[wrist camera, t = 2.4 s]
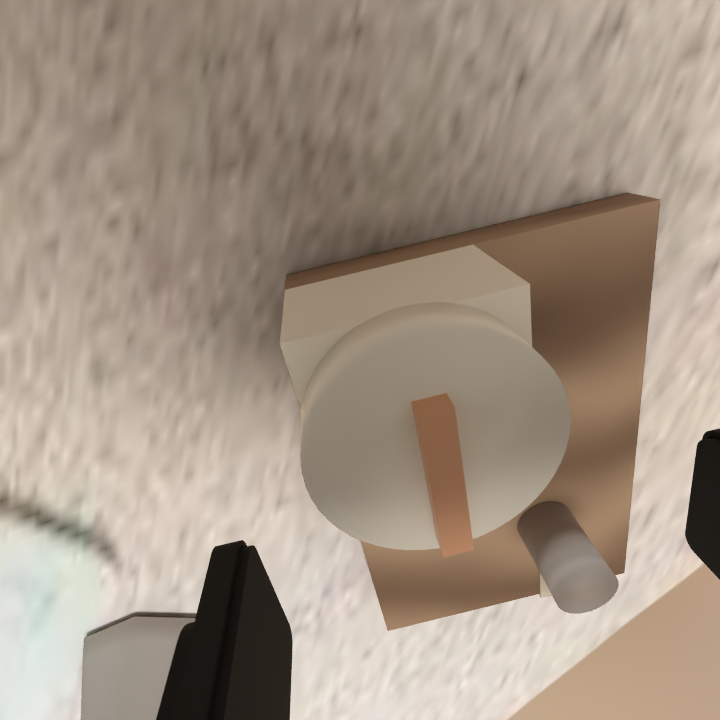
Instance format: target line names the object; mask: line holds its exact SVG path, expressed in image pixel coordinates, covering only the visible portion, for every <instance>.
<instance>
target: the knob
mask: <svg viewBox="0 0 720 720" xmlns="http://www.w3.org/2000/svg"><path fill="white" fill-rule="evenodd" d="M280 347H281V350H282V353H283V356H284V359H285V362H286V365H287V368H288V372H289V375H290V378H291V381H292V384H293V387H294V390H295V393H296V396H297V399H298V402H299V405H300V408H301V468H302V475H303V478H304V482H305V486H306V488H307V490H308V492H309V495H310V497H311V499H312V500H313V502H314V503H315V505H316V506H317V508H318V509H319V511H320V512H321V513H322V514H323V515H324V516H325V517H326V518H327V519H328V520H329V521H330V522H331V523H333V524H334V525H335V526H336V527H337V528H339V529H340V530H342V531H344V532H345V533H347V534H349V535H350V536H352V537H354V538H357V539H359V540H361V541H363V542H367V543H370V544H373V545H376V546H380V547H386V548H391V549H400V550H427V549H437V548H440V550H441V553H442V556H443V558H444V557H448V556H452V555H456V554H460V553H465V552H469V551H473V550H474V546H473V539H475V538H477V537H480V536H482V535H485V534H487V533H489V532H491V531H493V530H495V529H497V528H498V527H500V526H502V525H503V524H505V523H507V522H508V521H510V520H511V519H513V518H514V517H515V516H517V515H518V514H519V513H521V512H522V511H523V510H524V509H525V508H526V507H528V506H529V505H530V504H531V503H532V502H533V501H534V500H535V499H536V498H537V497H538V496H539V495H540V493H541V492H542V491H543V490H544V489H545V488H546V486H547V485H548V483H549V482H550V481H551V479H552V478H553V476H554V475H555V473H556V471H557V469H558V467H559V465H560V464H561V461H562V459H563V456H564V453H565V451H566V448H567V443H568V439H569V434H570V423H571V419H570V406H569V402H568V398H567V394H566V391H565V389H564V387H563V384H562V382H561V380H560V378H559V377H558V375H557V374H556V372H555V371H554V369H553V368H552V367H551V366H550V364H549V363H548V362H547V361H546V360H545V359H544V358H543V357H542V356H541V355H540V354H539V353H538V352H537V351H536V350H535V349H534V348H533V347H532V328H531V300H530V284H529V283H528V282H526V281H525V280H524V279H522V278H521V277H519V276H518V275H516V274H515V273H513V272H512V271H511V270H509V269H508V268H506V267H505V266H503V265H502V264H500V263H499V262H498V261H496V260H495V259H493V258H492V257H490V256H489V255H487V254H486V253H485V252H483V251H482V250H480V249H479V248H477V247H476V246H474V245H469V246H465V247H461V248H457V249H452V250H448V251H444V252H440V253H436V254H432V255H428V256H423V257H419V258H415V259H411V260H407V261H403V262H398V263H394V264H390V265H386V266H382V267H378V268H373V269H369V270H365V271H361V272H357V273H353V274H349V275H344V276H340V277H336V278H332V279H328V280H324V281H319V282H315V283H311V284H307V285H303V286H299V287H295V288H290V289H286V290H285V293H284V304H283V314H282V324H281V335H280Z"/></svg>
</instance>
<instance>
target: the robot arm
mask: <svg viewBox="0 0 720 720" xmlns="http://www.w3.org/2000/svg"><path fill="white" fill-rule="evenodd" d="M685 536H686V540H687V542H688V544H689V546H690V548H691V549H692V550H693V552H694V553H695V554H696V555H697V556H698V557H699V558H700V559H701V560H702V561H703V562H704V563H705V564H706V565H707V567H708V568H710V570H711V571H712V572H713V573H714V574H715V575H716V576H717V577H718V578H719V579H720V429H715V430H711V431H707V432H706V433H705V434H704V435H703V438H702V440H701V441H699V442H698V445H697V450H696V457H695V465H694V472H693V480H692V487H691V494H690V502H689V509H688V516H687V524H686V531H685ZM291 669H292V633H291V628H290V625H289V623H288V620H287V618H286V616H285V613H284V611H283V609H282V607H281V604H280V602H279V600H278V598H277V595H276V593H275V591H274V588H273V586H272V584H271V582H270V579H269V577H268V575H267V572H266V570H265V568H264V566H263V563H262V561H261V559H260V557H259V554H258V552H257V550H256V548H255V546H253V545H252V546H248V547H247V545H246V543H245V542H244V541H243V540H241V541H237V542H232V543H228V544H224V545H220V546H215V547H214V549H213V551H212V554H211V558H210V562H209V566H208V570H207V574H206V578H205V582H204V586H203V590H202V594H201V599H200V603H199V607H198V611H197V615H196V619H195V622H190V623H188V624H186V625H185V626H184V627H183V628H182V630H181V632H180V635H179V637H178V640H177V644H176V647H175V651H174V655H173V658H172V662H171V666H170V669H169V673H168V677H167V681H166V684H165V688H164V692H163V695H162V699H161V703H160V706H159V710H158V714H157V717H156V720H290V695H291Z"/></svg>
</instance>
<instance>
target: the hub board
mask: <svg viewBox="0 0 720 720" xmlns="http://www.w3.org/2000/svg"><path fill="white" fill-rule="evenodd" d="M659 208H660V199H655V198H651V197H646V196H641V195H636V194H631V193H625V194H621V195H617V196H613V197H608V198H604V199H600V200H596V201H592V202H588V203H583V204H579V205H575V206H571V207H567V208H563V209H559V210H554V211H550V212H546V213H542V214H538V215H534V216H529V217H525V218H521V219H517V220H513V221H509V222H504V223H500V224H496V225H492V226H488V227H484V228H479V229H475V230H471V231H467V232H463V233H459V234H455V235H450V236H446V237H442V238H438V239H434V240H430V241H425V242H421V243H417V244H413V245H409V246H405V247H400V248H396V249H392V250H388V251H384V252H380V253H376V254H371V255H367V256H363V257H359V258H355V259H351V260H346V261H342V262H338V263H334V264H330V265H326V266H321V267H317V268H313V269H309V270H305V271H301V272H296V273H292V274H288V275H286V283H285V290H286V289H290V288H295V287H299V286H303V285H307V284H311V283H315V282H319V281H324V280H328V279H332V278H336V277H340V276H344V275H349V274H353V273H357V272H361V271H365V270H369V269H373V268H378V267H382V266H386V265H390V264H394V263H398V262H403V261H407V260H411V259H415V258H419V257H423V256H428V255H432V254H436V253H440V252H444V251H448V250H452V249H457V248H461V247H465V246H469V245H474V246H476V247H477V248H479V249H480V250H482V251H483V252H485V253H486V254H487V255H489V256H490V257H492V258H493V259H495V260H496V261H498V262H499V263H500V264H502V265H503V266H505V267H506V268H508V269H509V270H511V271H512V272H513V273H515V274H516V275H518V276H519V277H521V278H522V279H524V280H525V281H526V282H528V283H529V284H530V300H531V328H532V347H533V348H534V349H535V350H536V351H537V352H538V353H539V354H540V355H541V356H542V357H543V358H544V359H545V360H546V361H547V362H548V363H549V364H550V366H551V367H552V368H553V369H554V371H555V372H556V374H557V375H558V377H559V378H560V380H561V382H562V384H563V387H564V389H565V391H566V394H567V398H568V402H569V406H570V419H571V423H570V434H569V439H568V443H567V448H566V451H565V453H564V456H563V459H562V461H561V464H560V465H559V467H558V469H557V471H556V473H555V475H554V476H553V478H552V479H551V481H550V482H549V483H548V485H547V486H546V488H545V489H544V490H543V491H542V492H541V493H540V495H539V496H538V497H537V498H536V499H535V500H534V501H533V502H532V503H531V504H530V505H529V506H528V507H526V508H525V509H524V510H523V511H522V512H521V513H519V514H518V515H517V516H515V517H514V518H513V519H511V520H510V521H508V522H507V523H505V524H503V525H502V526H500V527H498V528H497V529H495V530H493V531H491V532H489V533H487V534H485V535H482V536H480V537H477V538H475V539H473V546H474V550H473V551H469V552H465V553H460V554H456V555H452V556H448V557H444V558H443V556H442V553H441V550H440V548H437V549H427V550H400V549H391V548H386V547H380V546H376V545H373V544H370V543H367V542H363V541H361V544H362V547H363V550H364V554H365V557H366V560H367V563H368V567H369V570H370V573H371V577H372V580H373V583H374V587H375V590H376V593H377V597H378V600H379V603H380V607H381V610H382V613H383V616H384V620H385V623H386V626H387V630H388V631H389V630H393V629H398V628H402V627H406V626H410V625H414V624H418V623H422V622H426V621H430V620H434V619H438V618H442V617H447V616H451V615H455V614H459V613H463V612H467V611H471V610H475V609H479V608H483V607H487V606H491V605H495V604H500V603H504V602H508V601H512V600H516V599H520V598H524V597H528V596H532V595H536V594H540V598H543V597H547V596H551V595H552V596H553V598H554V600H555V602H556V603H557V605H558V607H559V608H560V609H561V610H563V611H565V612H568V613H584V612H588V611H592V610H594V609H597V608H599V607H601V606H602V605H604V604H605V603H607V602H608V601H609V600H610V599H611V598H612V597H613V596H614V594H615V593H616V591H617V589H618V580H617V578H616V576H615V575H618V574H622V573H624V570H625V560H626V549H627V539H628V529H629V518H630V508H631V498H632V487H633V477H634V467H635V456H636V446H637V436H638V425H639V415H640V405H641V394H642V384H643V374H644V363H645V353H646V343H647V332H648V322H649V311H650V301H651V291H652V280H653V270H654V260H655V249H656V239H657V229H658V218H659Z"/></svg>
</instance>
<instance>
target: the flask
mask: <svg viewBox="0 0 720 720" xmlns="http://www.w3.org/2000/svg"><path fill="white" fill-rule="evenodd" d="M195 619H196V618H172V617H132V618H130V619H127V620H125V621H123V622H120V623H118V624H116V625H113V626H111V627H109V628H106V629H104V630H102V631H99V632H97V633H95V634H92V635H90V636H88V637H85V638H84V648H83V668H82V699H81V720H156V717H157V714H158V710H159V706H160V703H161V699H162V695H163V692H164V688H165V684H166V681H167V677H168V673H169V669H170V666H171V662H172V658H173V655H174V651H175V647H176V644H177V640H178V637H179V635H180V632H181V630H182V628H183V627H184V626H185V625H186V624H188V623H190V622H195Z"/></svg>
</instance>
